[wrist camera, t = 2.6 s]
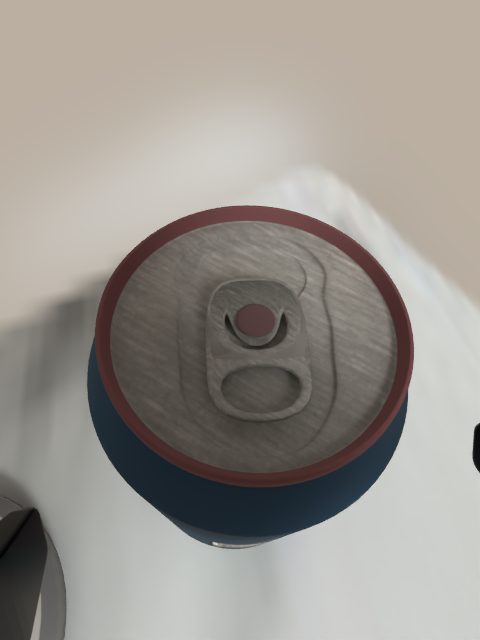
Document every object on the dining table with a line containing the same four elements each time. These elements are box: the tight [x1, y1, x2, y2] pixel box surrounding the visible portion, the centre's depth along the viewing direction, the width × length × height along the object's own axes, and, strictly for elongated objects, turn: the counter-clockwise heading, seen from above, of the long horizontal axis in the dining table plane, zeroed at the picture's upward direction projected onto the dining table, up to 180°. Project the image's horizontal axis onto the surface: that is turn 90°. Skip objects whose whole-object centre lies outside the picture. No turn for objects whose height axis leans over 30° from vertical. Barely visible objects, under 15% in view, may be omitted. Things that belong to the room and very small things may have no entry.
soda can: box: [87, 206, 414, 549], centre depth 12 cm, size 7×7×12 cm
